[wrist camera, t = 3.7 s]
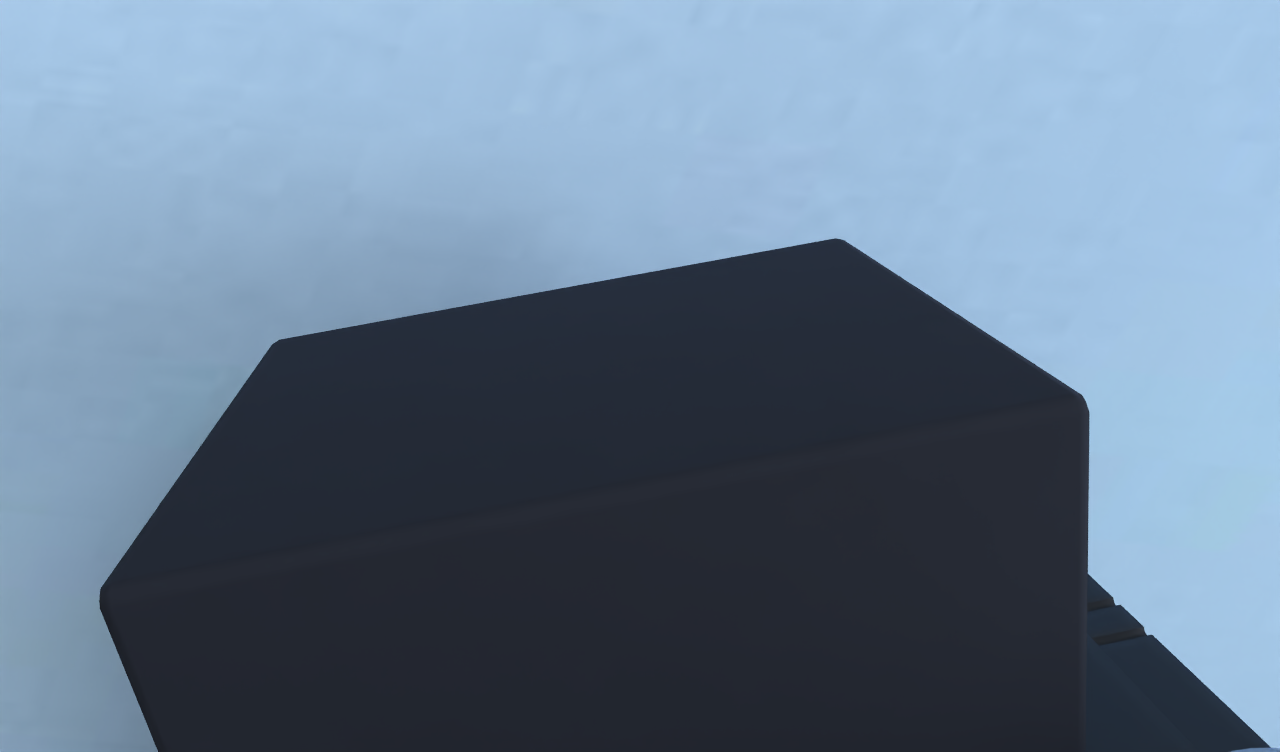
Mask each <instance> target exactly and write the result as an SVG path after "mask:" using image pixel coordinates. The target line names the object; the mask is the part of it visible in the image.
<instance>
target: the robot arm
mask: <svg viewBox="0 0 1280 752" xmlns="http://www.w3.org/2000/svg"><path fill="white" fill-rule="evenodd" d="M1086 752H1280V749H1279V748H1271V747H1270V746H1269V745H1268V744H1267V743H1266V742H1265V741H1263V740H1262V739H1261V738H1260V737H1259V736H1258V735H1257V734H1256V733H1255V732H1254V731H1253V730H1252V729H1251V728H1250V727H1249V726H1248V725H1247V724H1246V723H1245V722H1243V721H1242V720H1241V719H1240V718H1239V717H1238V716H1237V715H1236V714H1235V713H1234V712H1233V711H1232V710H1231V709H1230V708H1229V707H1228V706H1227V705H1226V704H1224V703H1223V702H1222V701H1221V700H1220V699H1219V698H1218V697H1217V696H1216V695H1215V694H1214V693H1213V692H1212V691H1211V690H1210V689H1209V688H1208V687H1207V686H1206V685H1204V684H1203V683H1202V682H1201V681H1200V680H1199V679H1198V678H1197V677H1196V676H1195V675H1194V674H1193V673H1192V672H1191V671H1190V670H1189V669H1188V668H1187V667H1185V666H1184V665H1183V664H1182V663H1181V662H1180V661H1179V660H1178V659H1177V658H1176V657H1175V656H1174V655H1173V654H1172V653H1171V652H1170V651H1169V650H1168V649H1167V648H1165V647H1164V646H1163V645H1162V644H1161V643H1160V642H1159V641H1158V640H1157V639H1156V638H1155V637H1154V636H1153V635H1148V636H1147V635H1146V633H1145V631H1144V627H1143V626H1142V625H1141V624H1140V623H1139V622H1138V621H1137V620H1136V619H1135V618H1134V617H1133V616H1132V615H1131V614H1130V613H1129V612H1128V611H1126V610H1125V609H1124V608H1123V607H1122V606H1121V605H1117V606H1116V605H1115V603H1114V600H1113V597H1112V596H1111V595H1110V594H1109V593H1107V592H1106V591H1105V590H1104V589H1103V588H1102V587H1101V586H1100V585H1099V584H1098V583H1097V582H1096V581H1095V580H1094V579H1093V578H1092V577H1091V576H1090V575H1089V574H1088V580H1087V671H1086Z"/></svg>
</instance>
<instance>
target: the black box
mask: <svg viewBox="0 0 1280 752" xmlns="http://www.w3.org/2000/svg"><path fill="white" fill-rule="evenodd" d="M1088 489H1089V410H1088V407H1087V404H1086V401H1085V400H1084V398H1083V396H1082V395H1081V394H1079V393H1078V392H1076V391H1075V390H1073V389H1072V388H1070V387H1069V386H1067V385H1066V384H1064V383H1062V382H1061V381H1059V380H1058V379H1056V378H1055V377H1053V376H1052V375H1050V374H1049V373H1047V372H1046V371H1044V370H1043V369H1041V368H1039V367H1038V366H1036V365H1035V364H1033V363H1032V362H1030V361H1029V360H1027V359H1026V358H1024V357H1023V356H1021V355H1019V354H1018V353H1016V352H1015V351H1013V350H1012V349H1010V348H1009V347H1007V346H1006V345H1004V344H1003V343H1001V342H999V341H998V340H996V339H995V338H993V337H992V336H990V335H989V334H987V333H986V332H984V331H983V330H981V329H979V328H978V327H976V326H975V325H973V324H972V323H970V322H969V321H967V320H966V319H964V318H963V317H961V316H959V315H958V314H956V313H955V312H953V311H952V310H950V309H949V308H947V307H946V306H944V305H943V304H941V303H940V302H938V301H936V300H935V299H933V298H932V297H930V296H929V295H927V294H926V293H924V292H923V291H921V290H920V289H918V288H916V287H915V286H913V285H912V284H910V283H909V282H907V281H906V280H904V279H903V278H901V277H900V276H898V275H896V274H895V273H893V272H892V271H890V270H889V269H887V268H886V267H884V266H883V265H881V264H880V263H878V262H876V261H875V260H873V259H872V258H870V257H869V256H867V255H866V254H864V253H863V252H861V251H860V250H858V249H856V248H855V247H853V246H852V245H850V244H849V243H847V242H846V241H844V240H841V239H836V238H835V239H830V240H824V241H819V242H814V243H808V244H803V245H797V246H792V247H786V248H781V249H775V250H770V251H764V252H759V253H753V254H748V255H742V256H737V257H731V258H726V259H720V260H715V261H709V262H704V263H698V264H693V265H687V266H682V267H676V268H671V269H665V270H660V271H654V272H649V273H643V274H638V275H632V276H627V277H621V278H616V279H610V280H605V281H600V282H594V283H589V284H583V285H578V286H572V287H567V288H561V289H556V290H550V291H545V292H539V293H534V294H528V295H523V296H517V297H512V298H506V299H501V300H495V301H490V302H484V303H479V304H473V305H468V306H462V307H457V308H451V309H446V310H440V311H435V312H429V313H424V314H418V315H413V316H407V317H402V318H396V319H391V320H386V321H380V322H375V323H369V324H364V325H358V326H353V327H347V328H342V329H336V330H331V331H325V332H320V333H314V334H309V335H303V336H298V337H292V338H287V339H281V340H278V341H277V342H275V343H274V344H272V345H271V347H270V348H269V350H268V351H267V353H266V354H265V355H264V357H263V358H262V360H261V361H260V363H259V364H258V365H257V367H256V368H255V370H254V371H253V373H252V374H251V375H250V377H249V378H248V380H247V381H246V382H245V384H244V385H243V387H242V388H241V390H240V391H239V392H238V394H237V395H236V397H235V398H234V400H233V401H232V402H231V404H230V405H229V407H228V408H227V409H226V411H225V412H224V414H223V415H222V417H221V418H220V419H219V421H218V422H217V424H216V425H215V427H214V428H213V429H212V431H211V432H210V434H209V435H208V437H207V438H206V439H205V441H204V442H203V444H202V445H201V446H200V448H199V449H198V451H197V452H196V454H195V455H194V456H193V458H192V459H191V461H190V462H189V464H188V465H187V466H186V468H185V469H184V471H183V472H182V474H181V475H180V476H179V478H178V479H177V481H176V482H175V483H174V485H173V486H172V488H171V489H170V491H169V492H168V493H167V495H166V496H165V498H164V499H163V501H162V502H161V503H160V505H159V506H158V508H157V509H156V511H155V512H154V513H153V515H152V516H151V518H150V519H149V520H148V522H147V523H146V525H145V526H144V528H143V529H142V530H141V532H140V533H139V535H138V536H137V538H136V539H135V540H134V542H133V543H132V545H131V546H130V548H129V549H128V550H127V552H126V553H125V555H124V556H123V557H122V559H121V560H120V562H119V563H118V565H117V566H116V567H115V569H114V570H113V572H112V573H111V575H110V576H109V577H108V579H107V580H106V582H105V583H104V585H103V586H102V587H101V589H100V600H99V603H100V610H101V612H102V615H103V617H104V620H105V622H106V625H107V627H108V629H109V632H110V634H111V637H112V639H113V642H114V644H115V647H116V649H117V652H118V654H119V656H120V659H121V661H122V664H123V666H124V669H125V671H126V674H127V676H128V679H129V681H130V683H131V686H132V688H133V691H134V693H135V696H136V698H137V701H138V703H139V706H140V708H141V710H142V713H143V715H144V718H145V720H146V723H147V725H148V728H149V730H150V733H151V735H152V738H153V740H154V742H155V745H156V747H157V750H158V752H1086V671H1087V580H1088Z"/></svg>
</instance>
